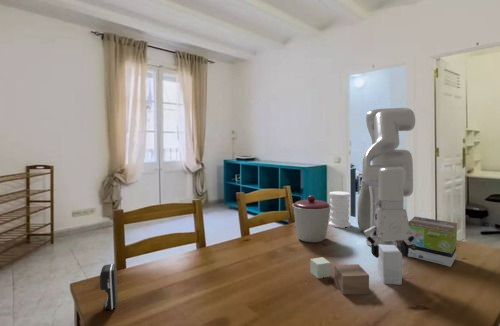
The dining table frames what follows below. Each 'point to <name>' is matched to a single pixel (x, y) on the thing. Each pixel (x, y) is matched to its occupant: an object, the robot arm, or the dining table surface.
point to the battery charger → (109, 285)
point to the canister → (311, 219)
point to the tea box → (433, 240)
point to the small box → (390, 264)
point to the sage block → (320, 267)
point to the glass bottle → (364, 207)
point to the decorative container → (339, 209)
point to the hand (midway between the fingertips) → (389, 255)
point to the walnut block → (351, 279)
